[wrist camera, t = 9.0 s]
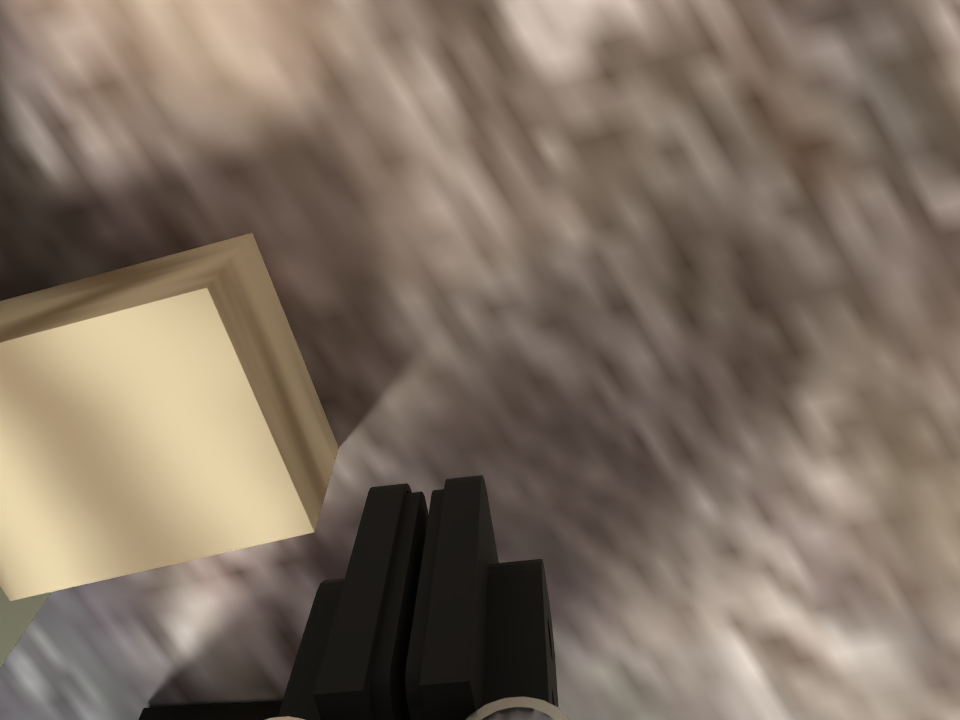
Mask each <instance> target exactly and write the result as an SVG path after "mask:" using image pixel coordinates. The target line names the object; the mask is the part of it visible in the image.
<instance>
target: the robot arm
mask: <svg viewBox="0 0 960 720" xmlns="http://www.w3.org/2000/svg"><path fill="white" fill-rule="evenodd" d="M266 720H571V719H570V718H569V717H568V716H567V715H566V714H565V713H564V712H563V711H562V710H561V709H560V708H559V707H558V695H557V680H556V665H555V652H554V641H553V632H552V622H551V614H550V606H549V599H548V592H547V585H546V578H545V571H544V565H543V560H542V559H537V560H527V561H517V562H507V563H499V562H498V556H497V550H496V544H495V538H494V532H493V527H492V521H491V515H490V509H489V503H488V497H487V491H486V486H485V481H484V477H483V475H480V476H471V477H462V478H453V479H446V481H445V486H444V489H442V490H433V491H432V496H431V503H430V509H429V515H428V510H427V505H426V500H425V496H424V494H423V492H414V493H412V492H411V489H410V487H409V485H408V484H407V483H406V484H397V485H388V486H379V487H372V488H370V490H369V492H368V496H367V499H366V503H365V507H364V511H363V514H362V518H361V522H360V525H359V529H358V533H357V536H356V540H355V544H354V547H353V551H352V555H351V558H350V562H349V566H348V569H347V573H346V577H345V579H335V580H325V581H323V582H322V583H321V584H320V586H319V588H318V590H317V593H316V596H315V599H314V602H313V605H312V609H311V612H310V615H309V618H308V621H307V625H306V628H305V631H304V634H303V638H302V641H301V644H300V647H299V650H298V654H297V657H296V660H295V663H294V666H293V670H292V673H291V676H290V679H289V682H288V686H287V689H286V692H285V695H284V698H283V702H282V705H281V708H280V711H279V714H278V717H275V718H269V719H266Z"/></svg>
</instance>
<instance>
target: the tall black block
mask: <svg viewBox="0 0 960 720" xmlns="http://www.w3.org/2000/svg"><path fill="white" fill-rule="evenodd" d="M282 702H283V701H278V702H257V703H237V704H217V705H196V706H176V707H155V708H144V709H143V711H142V713H141V715H140V717H139V720H266V719H269V718H275V717H278V714H279V711H280V708H281V705H282Z"/></svg>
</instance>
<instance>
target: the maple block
mask: <svg viewBox="0 0 960 720" xmlns="http://www.w3.org/2000/svg"><path fill="white" fill-rule="evenodd" d="M338 449H339V447H338V445H337V442H336V440H335V437H334V435H333V432H332V430H331V427H330V425H329V422H328V420H327V417H326V415H325V413H324V410H323V408H322V405H321V403H320V400H319V398H318V395H317V393H316V390H315V388H314V385H313V383H312V380H311V378H310V375H309V373H308V370H307V368H306V365H305V363H304V360H303V358H302V355H301V353H300V350H299V348H298V345H297V343H296V340H295V338H294V335H293V333H292V330H291V328H290V325H289V323H288V320H287V318H286V315H285V313H284V310H283V308H282V305H281V303H280V300H279V298H278V295H277V293H276V290H275V288H274V286H273V283H272V281H271V278H270V276H269V273H268V271H267V268H266V266H265V263H264V261H263V258H262V256H261V253H260V251H259V248H258V246H257V243H256V241H255V238H254V236H253V233H249V234H245V235H242V236H238V237H234V238H231V239H227V240H223V241H220V242H216V243H212V244H209V245H205V246H201V247H198V248H194V249H190V250H187V251H183V252H179V253H176V254H172V255H168V256H164V257H161V258H157V259H153V260H150V261H146V262H142V263H139V264H135V265H131V266H128V267H124V268H120V269H117V270H113V271H109V272H106V273H102V274H98V275H95V276H91V277H87V278H83V279H80V280H76V281H72V282H69V283H65V284H61V285H58V286H54V287H50V288H47V289H43V290H39V291H36V292H32V293H28V294H25V295H21V296H17V297H14V298H10V299H6V300H2V301H0V586H1V588H2V589H3V591H4V592H5V594H6V595H7V597H8V598H9V600H10V601H13V600H17V599H22V598H26V597H31V596H35V595H39V594H44V593H48V592H53V591H57V590H61V589H66V588H70V587H75V586H79V585H84V584H88V583H92V582H97V581H101V580H106V579H110V578H114V577H119V576H123V575H128V574H132V573H137V572H141V571H145V570H150V569H154V568H159V567H163V566H168V565H172V564H176V563H181V562H185V561H190V560H194V559H198V558H203V557H207V556H212V555H216V554H221V553H225V552H229V551H234V550H238V549H243V548H247V547H251V546H256V545H260V544H265V543H269V542H274V541H278V540H282V539H287V538H291V537H296V536H300V535H304V534H309V533H313V532H315V529H316V525H317V522H318V518H319V515H320V511H321V508H322V504H323V501H324V497H325V494H326V490H327V487H328V483H329V480H330V476H331V473H332V470H333V466H334V463H335V459H336V456H337V452H338Z"/></svg>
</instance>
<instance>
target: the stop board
mask: <svg viewBox="0 0 960 720" xmlns="http://www.w3.org/2000/svg"><path fill="white" fill-rule="evenodd" d="M50 593H51V592H48V593H44V594H39V595H35V596H31V597H26V598H22V599H17V600H13V601H10V600H9V598H8V597H7V595H6V594H5V592H4V591H3V589H2V588H1V586H0V667H1V666H2V664H3V663H4V661H5V660H6V658H7V657H8V655H9V654H10V652H11V651H12V649H13V648H14V646H15V645H16V643H17V642H18V641H19V639H20V638H21V636H22V635H23V633H24V632H25V630H26V629H27V627H28V626H29V624H30V623H31V621H32V620H33V618H34V617H35V615H36V614H37V612H38V611H39V610H40V608H41V607H42V605H43V604H44V602H45V601H46V599H47V598H48V596H49V595H50Z"/></svg>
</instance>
